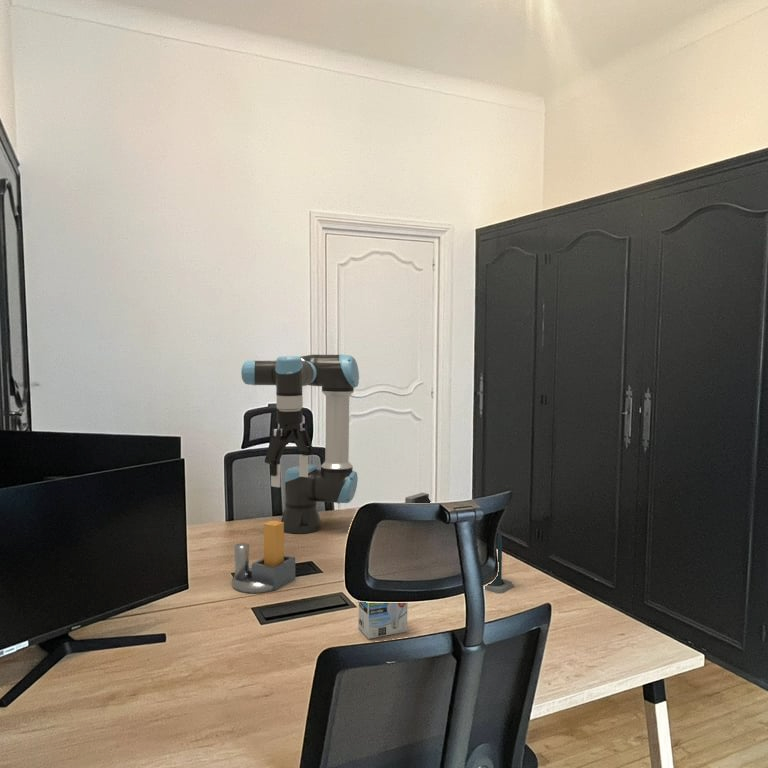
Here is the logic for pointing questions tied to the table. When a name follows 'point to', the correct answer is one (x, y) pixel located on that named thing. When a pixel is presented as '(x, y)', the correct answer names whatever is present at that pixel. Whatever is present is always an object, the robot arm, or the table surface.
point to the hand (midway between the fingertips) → (290, 481)
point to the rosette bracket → (260, 573)
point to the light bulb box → (382, 619)
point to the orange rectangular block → (273, 543)
